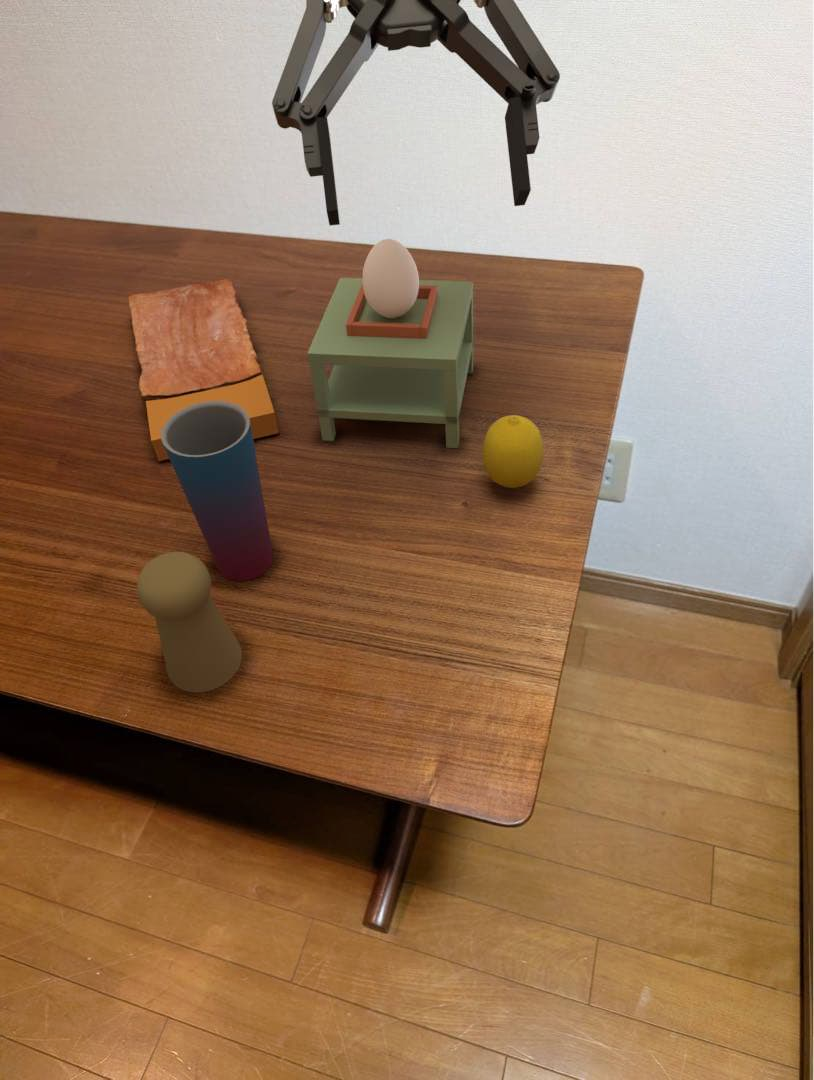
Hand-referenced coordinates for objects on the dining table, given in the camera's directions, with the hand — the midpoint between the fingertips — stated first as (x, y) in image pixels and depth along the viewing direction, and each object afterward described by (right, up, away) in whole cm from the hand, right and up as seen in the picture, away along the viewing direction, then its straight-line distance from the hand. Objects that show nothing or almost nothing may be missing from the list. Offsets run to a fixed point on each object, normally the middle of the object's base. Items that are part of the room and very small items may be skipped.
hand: (428, 208), depth 59 cm
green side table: (-2, -9, +29) cm, 31 cm away
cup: (-16, -26, +15) cm, 34 cm away
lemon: (+8, -19, +20) cm, 28 cm away
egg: (-3, -2, +22) cm, 22 cm away
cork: (-18, -34, +7) cm, 39 cm away
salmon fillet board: (-25, -4, +36) cm, 44 cm away
